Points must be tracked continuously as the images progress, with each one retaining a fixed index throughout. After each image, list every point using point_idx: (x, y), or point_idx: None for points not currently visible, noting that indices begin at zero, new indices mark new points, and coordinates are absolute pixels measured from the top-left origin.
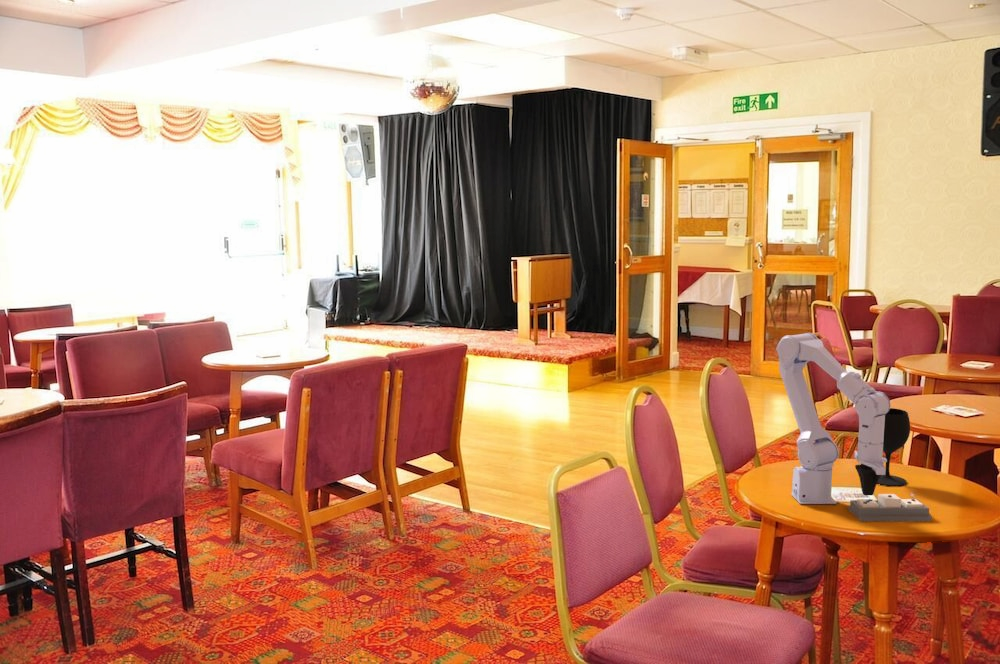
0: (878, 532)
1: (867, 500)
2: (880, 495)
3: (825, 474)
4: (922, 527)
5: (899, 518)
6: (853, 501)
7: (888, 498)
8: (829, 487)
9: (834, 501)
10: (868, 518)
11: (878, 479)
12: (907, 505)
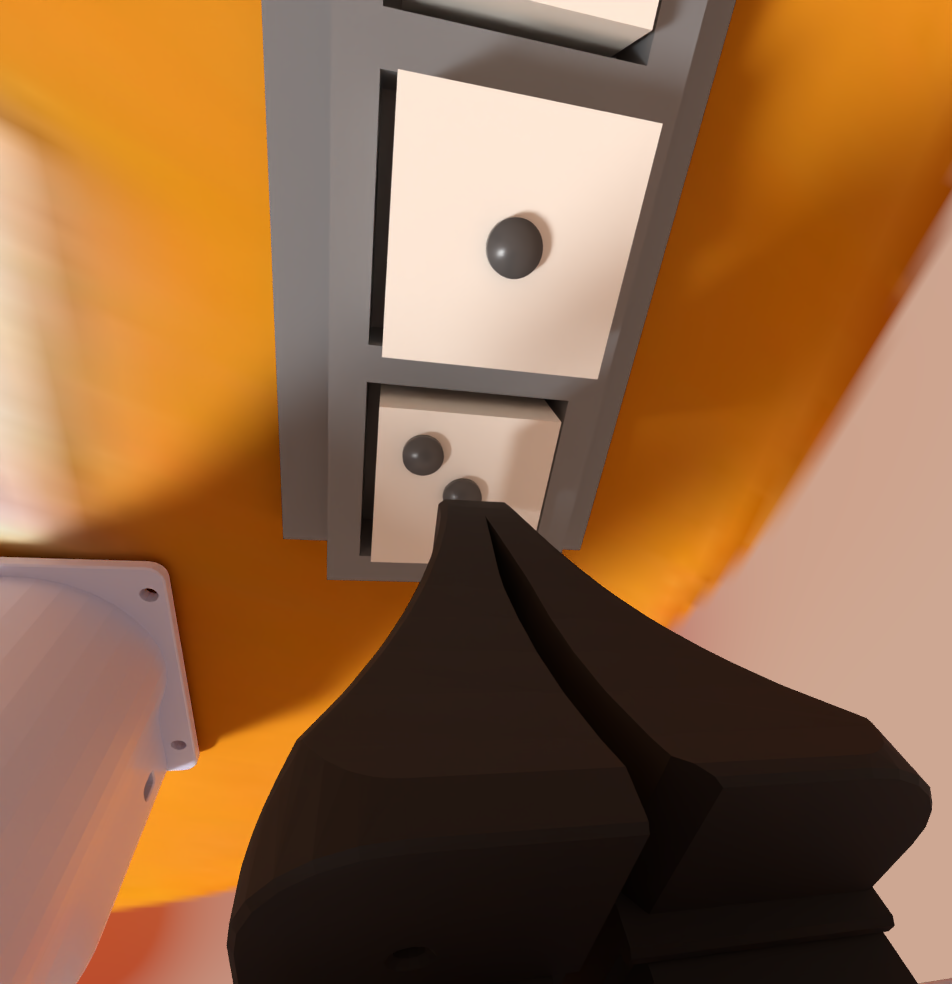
0: (777, 512)
1: (416, 477)
2: (449, 362)
3: (18, 920)
4: (862, 74)
5: (664, 227)
6: (364, 568)
7: (586, 317)
8: (58, 712)
9: (138, 580)
10: (589, 499)
11: (673, 635)
12: (647, 16)
